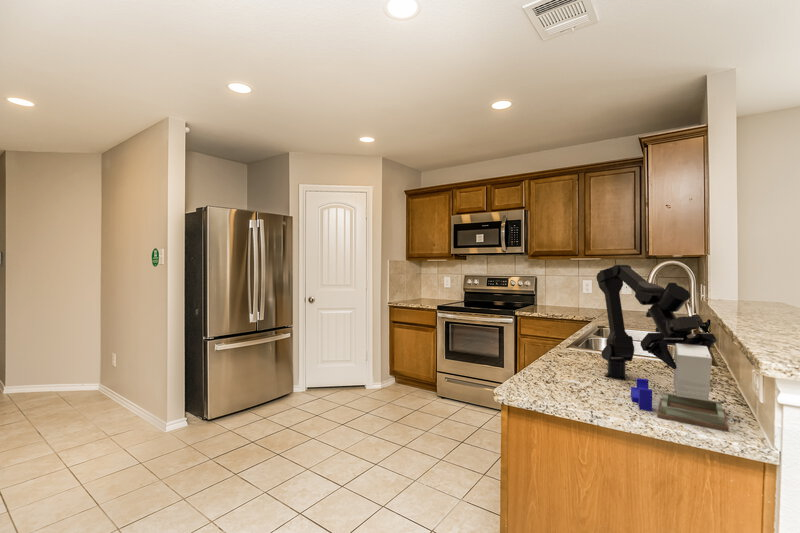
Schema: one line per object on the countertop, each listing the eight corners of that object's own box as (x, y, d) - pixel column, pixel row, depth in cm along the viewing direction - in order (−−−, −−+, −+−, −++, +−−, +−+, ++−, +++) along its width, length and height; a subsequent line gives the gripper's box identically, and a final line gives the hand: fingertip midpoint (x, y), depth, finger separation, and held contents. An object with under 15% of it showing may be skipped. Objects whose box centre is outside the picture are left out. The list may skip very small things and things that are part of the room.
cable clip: (630, 396, 125) (631, 377, 125) (647, 398, 123) (647, 379, 123) (633, 409, 115) (633, 388, 115) (651, 412, 113) (652, 390, 113)
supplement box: (704, 387, 111) (708, 345, 108) (708, 401, 105) (712, 358, 102) (672, 382, 115) (675, 342, 112) (674, 396, 109) (677, 354, 106)
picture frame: (660, 401, 120) (660, 391, 120) (724, 412, 112) (724, 402, 112) (657, 417, 108) (657, 406, 108) (728, 431, 100) (728, 419, 99)
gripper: (647, 304, 113) (673, 353, 102) (712, 304, 113) (745, 353, 103) (630, 327, 121) (653, 374, 111) (691, 327, 121) (719, 374, 111)
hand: (692, 368), depth 108 cm, fingers closed on supplement box, 9 cm apart
